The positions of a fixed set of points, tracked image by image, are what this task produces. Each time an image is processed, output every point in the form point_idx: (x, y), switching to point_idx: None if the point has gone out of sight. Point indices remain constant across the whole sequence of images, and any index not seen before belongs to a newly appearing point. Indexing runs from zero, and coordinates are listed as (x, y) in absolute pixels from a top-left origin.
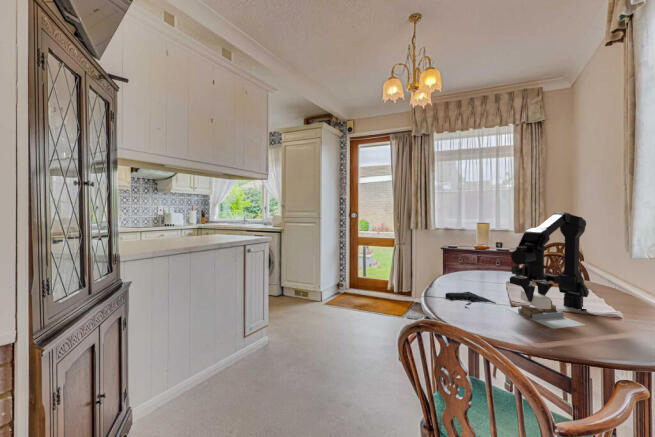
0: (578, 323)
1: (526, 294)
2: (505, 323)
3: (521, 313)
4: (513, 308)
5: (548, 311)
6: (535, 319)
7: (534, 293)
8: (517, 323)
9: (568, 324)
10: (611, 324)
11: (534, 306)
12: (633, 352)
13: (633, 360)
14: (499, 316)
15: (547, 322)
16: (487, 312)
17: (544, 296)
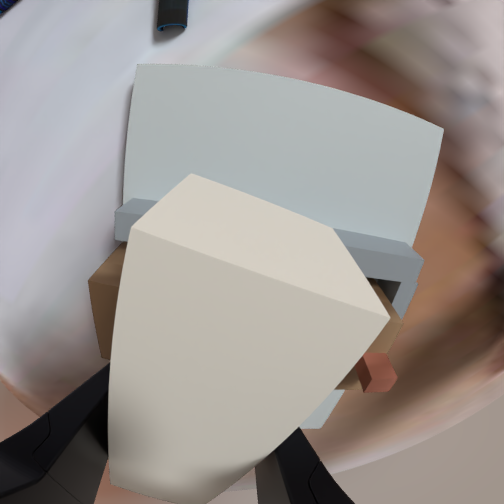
0: (314, 417)
1: (62, 410)
2: (8, 259)
3: (122, 243)
4: (196, 90)
5: None
6: None
7: (185, 452)
8: (53, 284)
9: None
10: (435, 402)
11: (428, 144)
12: (238, 482)
13: None
14: (28, 161)
15: None
16: (19, 77)
17: (196, 493)
